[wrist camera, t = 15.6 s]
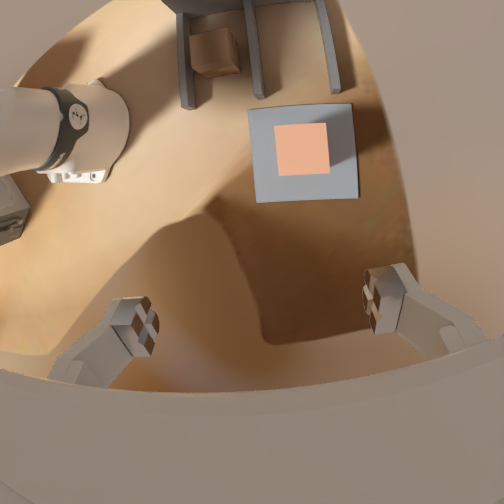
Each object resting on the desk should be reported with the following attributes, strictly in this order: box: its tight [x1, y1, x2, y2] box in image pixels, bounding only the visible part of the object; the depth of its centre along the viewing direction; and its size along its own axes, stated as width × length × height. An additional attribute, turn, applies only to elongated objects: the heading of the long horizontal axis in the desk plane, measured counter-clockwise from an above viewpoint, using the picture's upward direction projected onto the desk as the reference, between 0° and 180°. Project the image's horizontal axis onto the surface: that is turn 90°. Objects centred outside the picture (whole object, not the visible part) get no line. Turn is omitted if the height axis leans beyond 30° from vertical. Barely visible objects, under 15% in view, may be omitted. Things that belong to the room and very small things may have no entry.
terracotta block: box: [274, 123, 330, 176], centre depth 32 cm, size 5×5×11 cm
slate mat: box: [248, 104, 358, 203], centre depth 37 cm, size 14×13×1 cm
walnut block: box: [189, 27, 241, 79], centre depth 32 cm, size 5×5×6 cm
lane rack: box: [162, 0, 341, 110], centre depth 29 cm, size 21×17×8 cm
